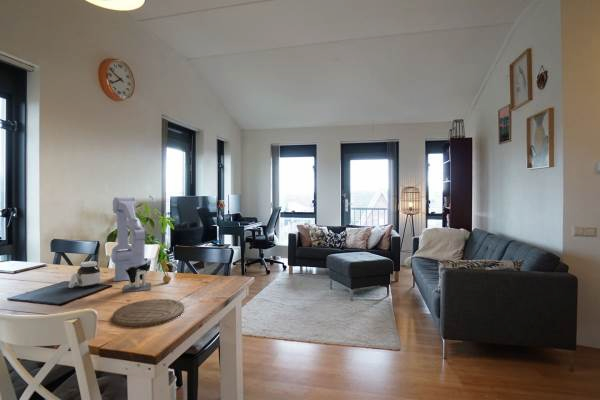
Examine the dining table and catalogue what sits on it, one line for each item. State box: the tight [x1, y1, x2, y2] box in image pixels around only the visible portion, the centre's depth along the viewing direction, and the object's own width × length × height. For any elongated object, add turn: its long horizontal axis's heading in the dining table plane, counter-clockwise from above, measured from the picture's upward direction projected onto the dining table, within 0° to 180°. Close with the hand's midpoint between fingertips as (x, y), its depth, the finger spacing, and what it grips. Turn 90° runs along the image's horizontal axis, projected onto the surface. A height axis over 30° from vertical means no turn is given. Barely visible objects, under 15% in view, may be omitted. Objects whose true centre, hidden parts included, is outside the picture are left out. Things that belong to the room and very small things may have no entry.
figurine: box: [157, 259, 173, 284], centre depth 165 cm, size 8×6×12 cm
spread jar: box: [68, 260, 101, 289], centre depth 154 cm, size 12×11×12 cm
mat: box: [121, 282, 152, 294], centre depth 154 cm, size 12×12×1 cm
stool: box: [128, 268, 147, 287], centre depth 154 cm, size 5×5×7 cm
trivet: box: [112, 298, 185, 328], centre depth 122 cm, size 25×25×2 cm
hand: (137, 281), depth 154 cm, fingers closed on stool, 5 cm apart
